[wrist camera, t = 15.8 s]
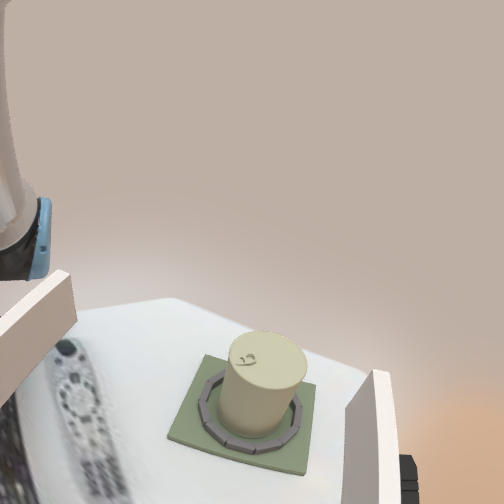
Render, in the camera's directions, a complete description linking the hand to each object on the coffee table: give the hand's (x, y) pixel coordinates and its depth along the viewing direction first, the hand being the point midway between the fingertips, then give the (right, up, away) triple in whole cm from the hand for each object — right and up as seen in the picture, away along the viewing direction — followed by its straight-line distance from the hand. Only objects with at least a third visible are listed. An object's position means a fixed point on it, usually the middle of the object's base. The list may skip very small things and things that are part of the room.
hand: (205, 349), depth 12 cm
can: (+1, -18, +28) cm, 33 cm away
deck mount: (+1, -19, +28) cm, 34 cm away
